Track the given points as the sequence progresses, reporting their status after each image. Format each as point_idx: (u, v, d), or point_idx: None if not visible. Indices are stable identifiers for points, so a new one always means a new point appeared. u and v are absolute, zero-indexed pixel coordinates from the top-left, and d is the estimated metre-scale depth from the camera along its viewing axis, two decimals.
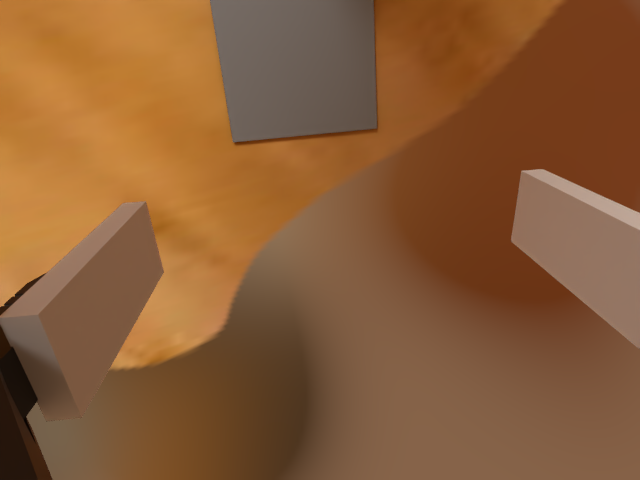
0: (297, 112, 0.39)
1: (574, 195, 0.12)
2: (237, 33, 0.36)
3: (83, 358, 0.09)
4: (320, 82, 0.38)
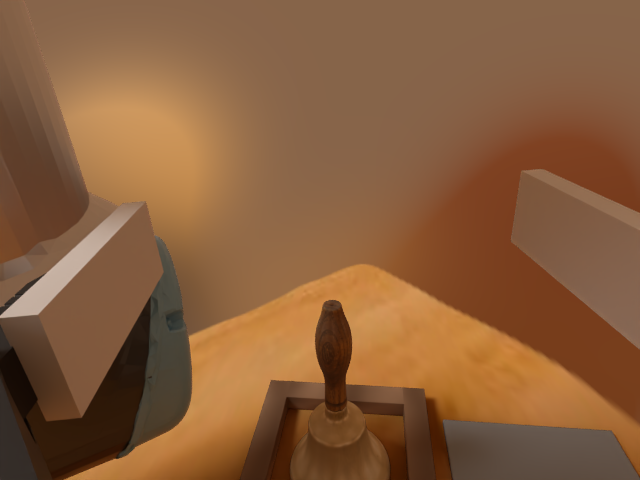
0: None
1: (574, 195, 0.12)
2: None
3: (83, 358, 0.09)
4: None
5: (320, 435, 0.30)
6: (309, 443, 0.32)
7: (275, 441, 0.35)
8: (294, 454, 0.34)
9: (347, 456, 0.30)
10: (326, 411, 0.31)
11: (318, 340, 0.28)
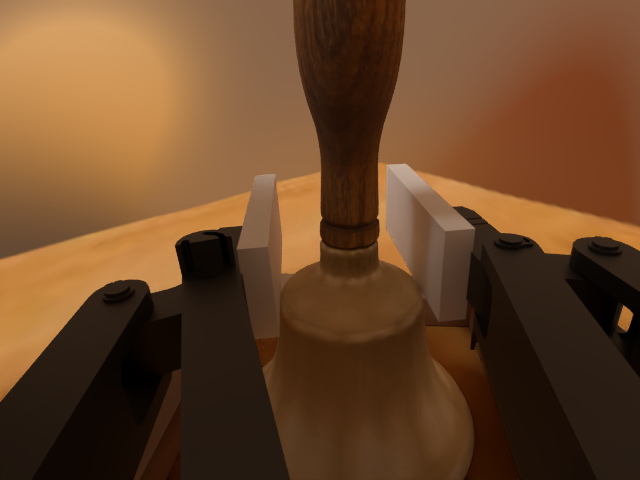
0: None
1: (408, 185, 0.13)
2: None
3: (276, 290, 0.11)
4: None
5: (309, 316, 0.11)
6: (281, 348, 0.12)
7: None
8: None
9: (381, 371, 0.11)
10: (324, 256, 0.12)
11: None
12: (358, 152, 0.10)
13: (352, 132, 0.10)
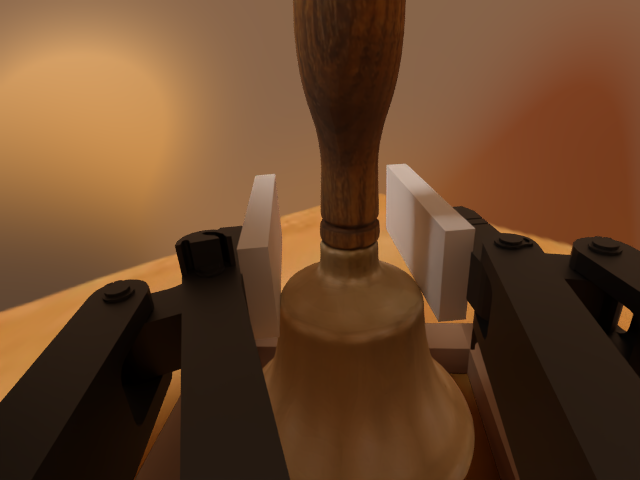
0: None
1: (407, 185, 0.13)
2: None
3: (276, 290, 0.11)
4: None
5: (309, 317, 0.11)
6: (281, 348, 0.12)
7: None
8: None
9: (380, 371, 0.11)
10: (325, 256, 0.12)
11: None
12: (358, 153, 0.10)
13: (352, 133, 0.10)
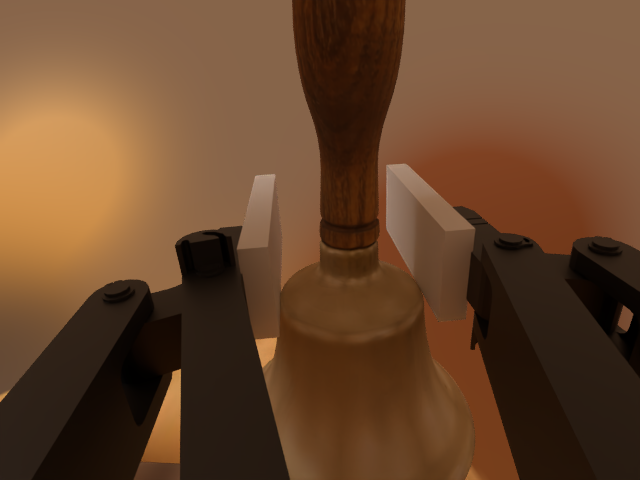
0: None
1: (408, 185, 0.13)
2: None
3: (276, 290, 0.11)
4: None
5: (309, 317, 0.11)
6: (280, 349, 0.12)
7: None
8: None
9: (380, 372, 0.11)
10: (324, 256, 0.12)
11: None
12: (358, 152, 0.10)
13: (352, 132, 0.10)
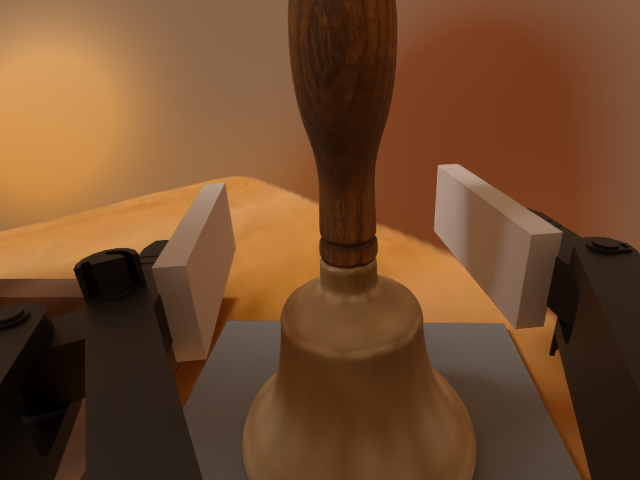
0: (505, 464, 0.13)
1: (470, 186, 0.13)
2: None
3: (205, 309, 0.11)
4: None
5: (311, 334, 0.11)
6: (283, 364, 0.13)
7: None
8: (254, 404, 0.15)
9: (382, 387, 0.11)
10: (324, 274, 0.12)
11: (298, 0, 0.09)
12: (354, 174, 0.10)
13: (348, 155, 0.10)
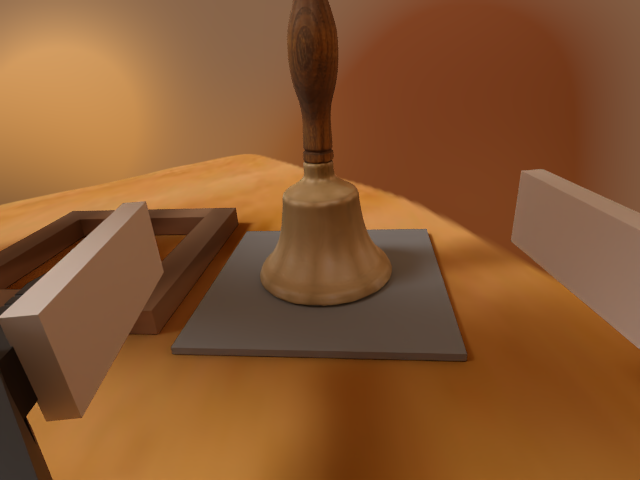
0: (406, 280, 0.24)
1: (574, 195, 0.12)
2: (274, 325, 0.21)
3: (83, 358, 0.09)
4: None
5: (298, 197, 0.22)
6: (284, 221, 0.24)
7: (39, 246, 0.30)
8: (266, 259, 0.26)
9: (334, 223, 0.22)
10: (305, 169, 0.23)
11: (291, 31, 0.20)
12: (319, 113, 0.21)
13: (316, 103, 0.21)
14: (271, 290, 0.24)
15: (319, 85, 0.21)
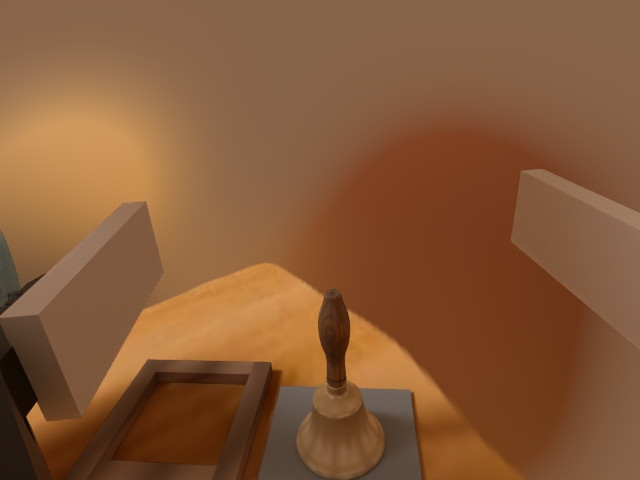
0: (394, 453, 0.37)
1: (574, 195, 0.12)
2: None
3: (83, 358, 0.09)
4: None
5: (324, 409, 0.35)
6: (313, 417, 0.36)
7: (135, 405, 0.42)
8: (299, 430, 0.39)
9: (347, 426, 0.35)
10: (328, 388, 0.35)
11: (321, 324, 0.32)
12: (338, 362, 0.34)
13: (336, 358, 0.33)
14: (305, 463, 0.36)
15: (338, 351, 0.33)
